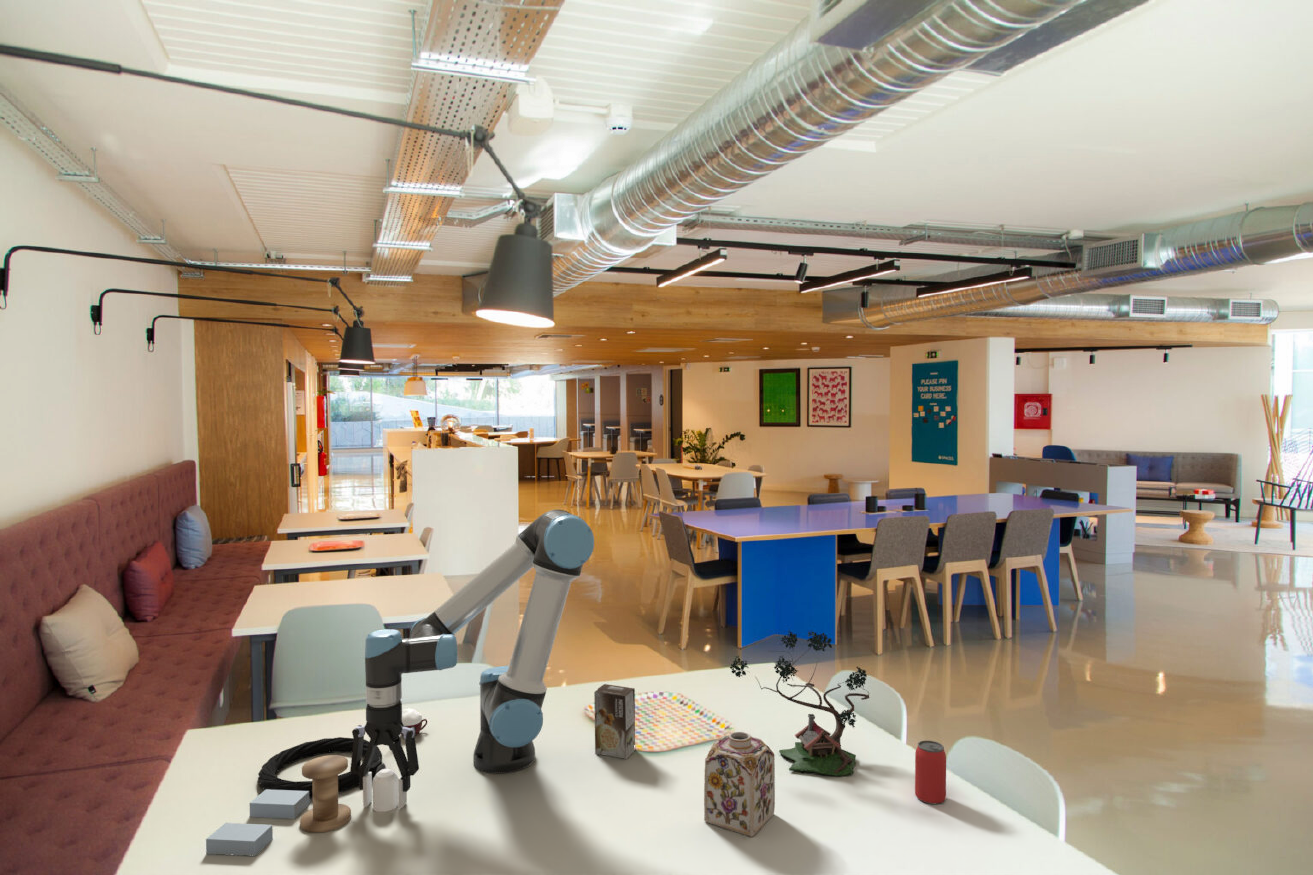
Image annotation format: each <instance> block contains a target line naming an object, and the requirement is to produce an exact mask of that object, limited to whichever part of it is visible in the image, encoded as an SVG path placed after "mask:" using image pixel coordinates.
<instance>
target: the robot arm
mask: <svg viewBox="0 0 1313 875" xmlns="http://www.w3.org/2000/svg"><path fill="white" fill-rule="evenodd" d="M594 548H595V536H594V533H593V531H592V529H591V527H590V526H589V524H588V523H587V522H586V521H585V520H584V519H582V518H581V517H580V516H577V515H575V514H573V513H571V512H569V511H567V510H564V509H551V510H549V511H546V512H544V513H543V514H541V515H539V516H538V517H537V518H536V519H535V520H534V521H533V522H531V523H530V524H529V525H528V526H527V527H526V528H525V529H523V530H522V531H521V532H520V533H518V535H517V536H516V537H515V542H514V544H512V545H511V546H509V548H508V549H506V550H505V551H504V552H503V553H501V554H500V555H499V556H498V557H497V558H496V559H495V560H493V561H492V562H491V563H490V564H489V565H487V566H486V567H485V568H484V569H482V570H481V571H480V572H479V573H478V574H477V575H475V576H474V577H473V578H471V580H469V581H468V582H467V583H466V584H465V585H464V586H462V587H461V588H460V589H459V590H458V591H456V593H454V595H452V596H450V598H447V600H446V601H445V602H444V603H442V604H441V605H440V606H439V607H438V608H436V610H434V611H433V612H432V613H430V614H429V615H428V616H427V617H422V618H419V619H418V620H416V621H415V622H414V623H413V624H412V627H411V629H410V632H409V637H408V638H403V637H402V633H401V631H399V630H398V629H389V628H387V629H386V628H385V629H378V630H375V631H372V632H370V633H369V634H368V635H366V638H365V647H364V648H365V649H364V651H365V652H364V665H365V666H364V668H365V672H364V673H365V703H366V705H365V721H366V723H365V725H361V724H359V725H357V726H356V727H355V728H353V729H352V731H351V733H352V738H353V739H354V743H353V751H352V752H351V760H350V761H351V762H350V770H349V772H351V773H356V774H358V775H359V784H358V785H359V786H358V788H359V790H361V791H363V792H362V798H363V800H362V803H363V804H362V806H363V807H368V806H369V804H371V802H373V781H372V772H368V773H367V771H368V770H369V769H370V768H369V767H370V764H371V761H372V759H373V756H374V753H375V751H376V748H377V747H378V746H381V745H382V746H387V747H388V748H389V750H390V751H391V752H392V755H393V758H394V761H395V763H396V766H397V768H398V770H399V773H400V776H399V777H397V779H398V805H397V807H398V809H402V808H404V806H405V805H406V804H407V801H408V794H407V793H408V791H409V790H410V788H411V777H412V776H415V774H416V773H417V772H418V771H419V769H420V764H419V758H418V752H417V744H416V735H415V734H416V728H415V727H412V728H407V727H404V725H403V723H402V711H403V701H402V698H403V689H402V688H403V687H402V685H403V684H402V681H403V680H402V674H412V673H423V672H430V671H443V670H447V669H452V668H454V667H456V666H457V664H458V641H457V637H456V635H457V633H458V632H459V631H460V630H462V629H463V628H464V627H465V626H467V625H468V623H470V622H471V621H472V620H474V618H475V617H477V616H478V615H480V613H482V612H483V611H484V610H485V609H486V608H487V607H489V606H490V605H492V604H493V603H494V601H496V600H497V599H498V598H499V597H500V596H502V595H503V594H504V593H505V592H506V591H507V590H508V589H509V588H511V587H512V586H513V585H514V584H515V583H517V582H518V581H520V579H521V578H522V577H524V576H525V575H526V574H527V573H528V572H530V571H531V570H532V569H533V568H534V569H535V576H534V579H533V583H532V586H531V589H530V592H529V597H528V600H527V603H526V606H525V610H524V612H523V617H522V620H521V624H520V627H519V630H518V633H517V638H516V640H515V644H514V647H513V651H512V652H511V653H512V654H511V658H510V660H509V661H510V662H509V664H508V665H502V666H501V665H500V666H495V667H490V668H488V669H485V670H483V671H481V673H480V678H479V679H480V681H479V690H480V694H479V695H480V696H479V697H480V698H479V700H480V701H479V702H480V703H479V704H480V705H479V709H480V712H479V714H480V715H479V716H480V717H479V718H480V723H479V724H480V725H479V726H480V728H479V729H480V731H479V735H478V738H477V741H476V744H475V748H474V751H473V755H472V756H473V757H472V758H473V760H472V761H473V766H474V767H475V768H476V770H477V769H478V770H480V771H482V772H484V773H491V774H506V773H512V772H513V773H514V772H517V771H520V770H523V769H525V768H527V767H529V766H530V765H531V764H532V763H533V762H534V761H535V760H536V759H535V758H536V748H535V745H534V740H535V739H536V738H537V737H538V735H539V734H540V732H541V730H542V728H543V723H544V716H543V715H544V713H543V711H542V708H543V704H544V701H545V698H546V694H547V691H548V689H547V686H546V684H545V682H544V677H545V674H546V671H547V667H548V664H549V661H550V657H551V653H552V650H553V646H554V642H555V640H556V636H557V632H558V629H559V625H560V623H561V619H562V616H563V612H564V609H565V605H566V602H567V598H568V594H569V593H570V592H569V591H570V588H571V585H572V582H573V581H575V580H576V579H578V578H580V576H581V573H582V569H583V566H584V564H585V563H586V562H588V561H589V559H590V557H592V554H593V552H594ZM455 634H456V635H455ZM401 733H403V735H404V736H403V739H405V742H404V743H405V750H406V752H405V751H404V748H403V745H402V740H401V737H400V735H401ZM366 734H367V736H368V737H369V740H368V741H369V744H368V748H367V751H366V754H365V756H363V755H362V750H363V741H364V739H365V735H366ZM405 753H406V754H405ZM362 757H363V759H362Z"/></svg>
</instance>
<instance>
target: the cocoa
mask: <svg viewBox="0 0 1313 875" xmlns="http://www.w3.org/2000/svg"><path fill="white" fill-rule="evenodd" d="M424 722H425V723H424ZM402 723H403V725H404V727H407V728H412V727H415V728H416V734H415V736H417V735H419V734H420V732H421V731H422V730H423V729H424V728H425V727H426V726H427V725H428V720H427V719H426V718H423V715H422V714H421V713H420V712H419V711H418V710H415V709H413V708H406V709H402ZM423 723H424V725H423ZM400 735H401V736H403V737H404V735H403V733H401V734H400Z"/></svg>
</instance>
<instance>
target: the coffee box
mask: <svg viewBox="0 0 1313 875" xmlns="http://www.w3.org/2000/svg"><path fill="white" fill-rule="evenodd" d="M635 694H636V690H635V688H634V687H629V686H627V687H626V686H621V685H613V684H607V683H606V684H605V683H604V684H602V685H601V686H599V687H598V688H597V690H595V691H594V696H593V697H594V750H595V751H594V754H598V755H602V756H608V757H613V758H614V757H615V758H619V759H628V758H629V757H630V756H631V755H632V754H633V753H634V752H635V751H634V745H635V746H636V714H635V713H636V696H635Z"/></svg>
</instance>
